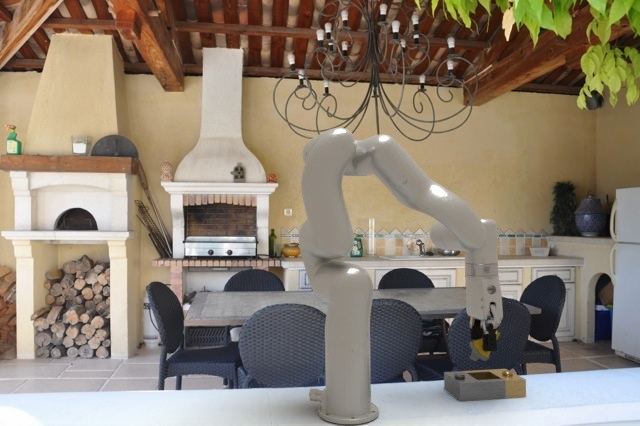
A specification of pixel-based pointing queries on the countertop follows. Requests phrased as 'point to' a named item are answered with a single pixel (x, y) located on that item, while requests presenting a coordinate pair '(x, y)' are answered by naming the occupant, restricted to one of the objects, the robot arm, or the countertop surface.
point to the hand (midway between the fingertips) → (483, 347)
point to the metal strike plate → (484, 384)
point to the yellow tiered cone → (479, 350)
